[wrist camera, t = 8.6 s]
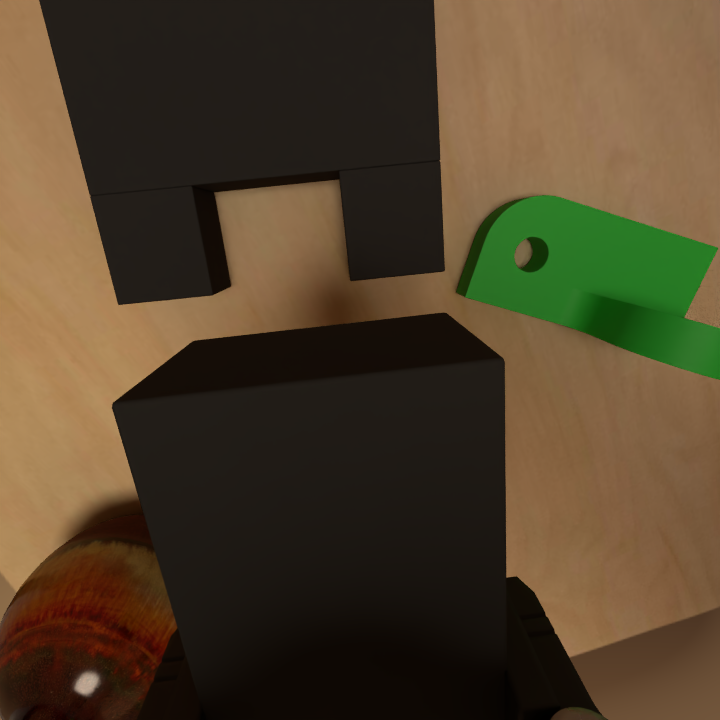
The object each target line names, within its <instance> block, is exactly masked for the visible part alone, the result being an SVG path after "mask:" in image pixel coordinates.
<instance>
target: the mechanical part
mask: <svg viewBox="0 0 720 720" xmlns="http://www.w3.org/2000/svg"><path fill="white" fill-rule="evenodd" d="M524 239H528V240H529V242H530V243H531V245H532V248H533V254H532V258H531V260H530V261H529V263H528V264H527V265H526V266H524V267H522V268H520V269H519V268H518V267H517V265H516V263H515V260H514V254H515V250H516V248H517V246H518V245H519V243H520V242H521V241H523V240H524ZM717 250H718V248H717V247H714V246H711V245H707V244H704V243H701V242H698V241H695V240H692V239H689V238H686V237H682V236H679V235H676V234H673V233H670V232H667V231H664V230H661V229H657V228H654V227H651V226H648V225H645V224H642V223H639V222H636V221H632V220H629V219H626V218H623V217H620V216H617V215H614V214H610V213H607V212H604V211H601V210H598V209H595V208H592V207H589V206H585V205H582V204H579V203H576V202H573V201H570V200H567V199H564V198H560V197H556V196H549V195H542V196H534V197H529V198H523V199H518V200H514V201H511V202H509V203H506V204H504V205H502V206H501V207H499V208H498V209H496V210H495V211H494V212H492V213H491V214H490V215H489V216H488V217H487V218H486V219H485V221H484V222H483V223H482V225H481V226H480V228H479V229H478V231H477V233H476V235H475V238H474V241H473V244H472V246H471V249H470V252H469V255H468V258H467V261H466V264H465V267H464V270H463V273H462V276H461V279H460V282H459V285H458V287H457V290H456V292H457V293H458V294H460V295H462V296H464V297H466V298H470V299H473V300H477V301H480V302H484V303H487V304H491V305H494V306H498V307H501V308H505V309H508V310H512V311H515V312H519V313H522V314H526V315H529V316H533V317H536V318H540V319H543V320H547V321H550V322H554V323H557V324H561V325H564V326H567V327H570V328H573V329H576V330H579V331H582V332H584V333H587V334H589V335H592V336H594V337H596V338H599V339H601V340H604V341H606V342H608V343H611V344H613V345H615V346H618V347H621V348H623V349H626V350H628V351H631V352H634V353H637V354H640V355H642V356H645V357H648V358H651V359H654V360H657V361H660V362H663V363H666V364H669V365H672V366H675V367H678V368H681V369H684V370H687V371H691V372H694V373H697V374H701V375H704V376H708V377H711V378H715V379H719V380H720V328H717V327H714V326H710V325H707V324H703V323H700V322H696V321H693V320H689V319H685V318H684V316H685V314H686V312H687V310H688V308H689V306H690V304H691V302H692V300H693V298H694V296H695V294H696V292H697V290H698V288H699V286H700V284H701V282H702V280H703V278H704V276H705V274H706V272H707V270H708V268H709V266H710V264H711V262H712V260H713V258H714V256H715V254H716V252H717Z"/></svg>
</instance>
